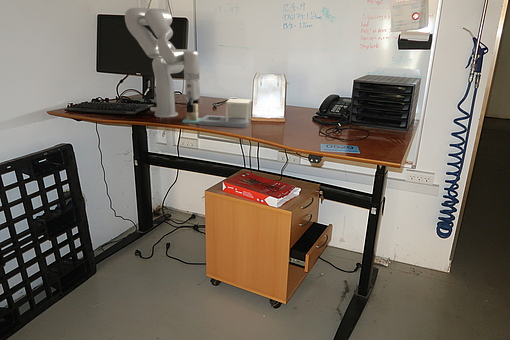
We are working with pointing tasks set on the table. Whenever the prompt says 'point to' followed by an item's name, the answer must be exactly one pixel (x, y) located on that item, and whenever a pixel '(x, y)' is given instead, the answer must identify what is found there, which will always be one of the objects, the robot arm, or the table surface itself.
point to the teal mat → (190, 121)
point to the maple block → (193, 115)
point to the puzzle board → (223, 121)
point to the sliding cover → (239, 108)
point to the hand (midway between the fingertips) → (192, 110)
